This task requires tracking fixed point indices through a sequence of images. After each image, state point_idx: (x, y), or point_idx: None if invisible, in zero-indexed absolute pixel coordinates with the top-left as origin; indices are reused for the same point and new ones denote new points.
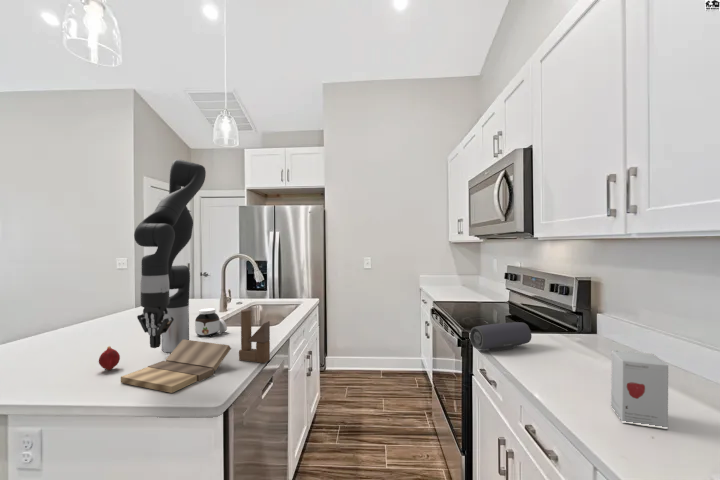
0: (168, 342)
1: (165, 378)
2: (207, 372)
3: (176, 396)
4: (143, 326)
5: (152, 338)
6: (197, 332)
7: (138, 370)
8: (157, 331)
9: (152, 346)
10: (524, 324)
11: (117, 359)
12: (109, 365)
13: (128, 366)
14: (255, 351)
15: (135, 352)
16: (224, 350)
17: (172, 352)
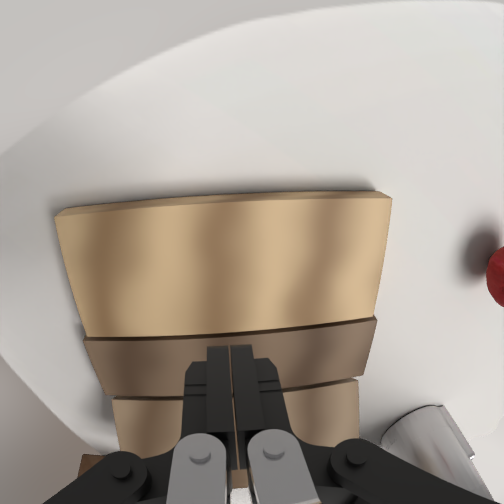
0: (429, 431)
1: (167, 267)
2: (96, 370)
3: (34, 200)
4: (405, 487)
5: (222, 409)
6: None
7: (378, 277)
8: (128, 483)
9: (222, 350)
10: None
11: (494, 288)
12: (496, 257)
13: (461, 305)
14: None
15: (493, 363)
16: None
17: (355, 414)
